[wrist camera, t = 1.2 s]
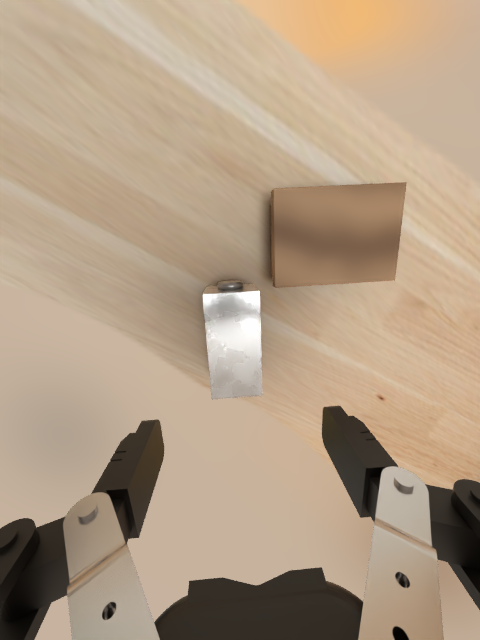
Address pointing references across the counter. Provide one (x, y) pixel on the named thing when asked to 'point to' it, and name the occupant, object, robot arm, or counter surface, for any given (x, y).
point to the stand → (335, 234)
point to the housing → (233, 339)
